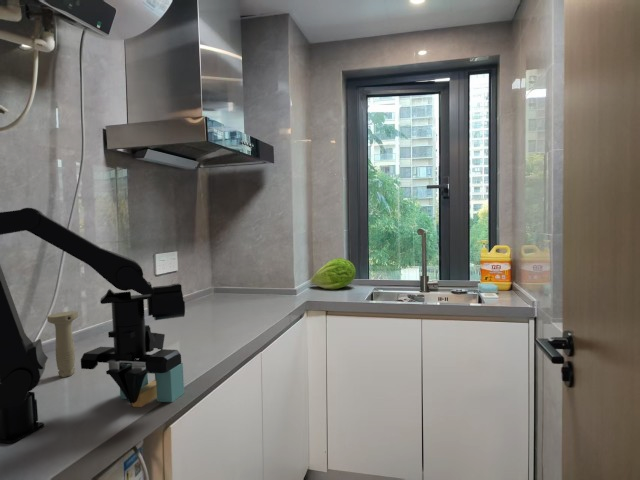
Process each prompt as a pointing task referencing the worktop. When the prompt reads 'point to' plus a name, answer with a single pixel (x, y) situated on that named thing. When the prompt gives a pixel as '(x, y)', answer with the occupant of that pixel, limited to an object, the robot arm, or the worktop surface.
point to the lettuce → (335, 274)
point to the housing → (166, 384)
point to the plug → (146, 394)
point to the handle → (64, 341)
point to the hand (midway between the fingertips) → (133, 402)
